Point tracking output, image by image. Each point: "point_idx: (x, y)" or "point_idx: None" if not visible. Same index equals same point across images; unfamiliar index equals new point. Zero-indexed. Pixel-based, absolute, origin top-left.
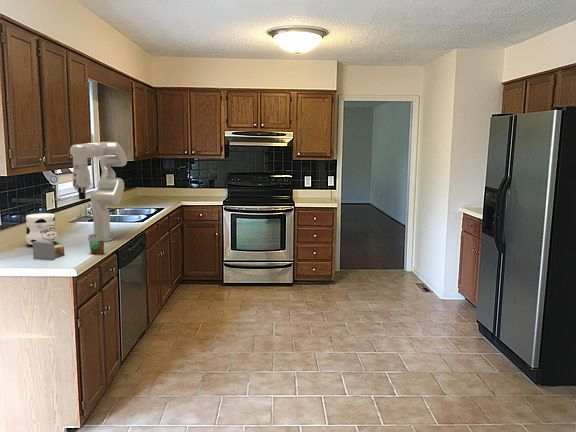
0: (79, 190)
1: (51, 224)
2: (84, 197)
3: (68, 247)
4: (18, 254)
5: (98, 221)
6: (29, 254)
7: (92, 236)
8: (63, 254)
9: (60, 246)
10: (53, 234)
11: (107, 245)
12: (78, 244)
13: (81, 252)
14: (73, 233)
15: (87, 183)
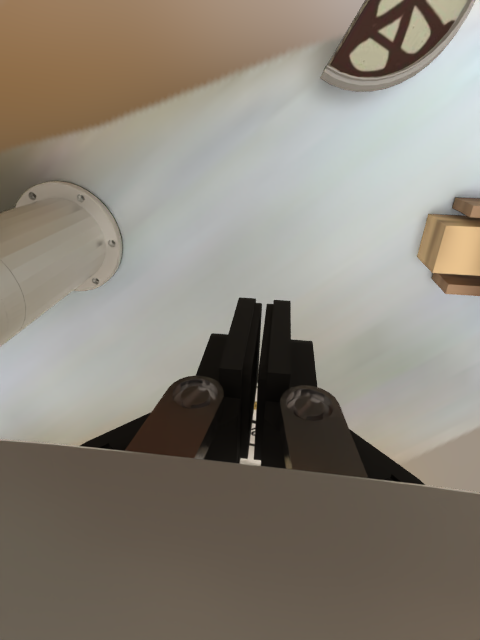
0: (395, 466)
1: (253, 449)
2: (260, 314)
3: (276, 292)
4: (447, 398)
5: (40, 268)
6: (444, 361)
7: (376, 59)
8: (464, 198)
9: (467, 233)
10: (254, 404)
11: (165, 115)
12: (203, 288)
13: (372, 148)
14: (41, 426)
15: (23, 598)
